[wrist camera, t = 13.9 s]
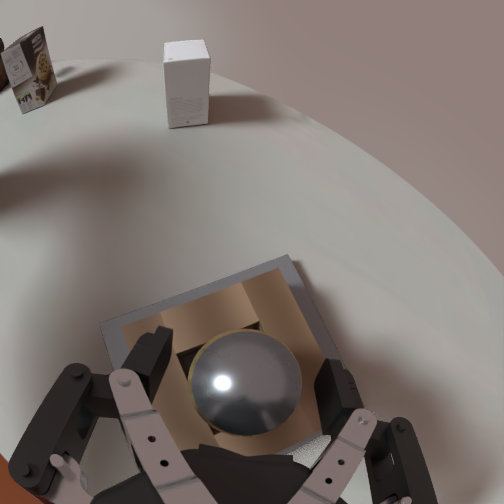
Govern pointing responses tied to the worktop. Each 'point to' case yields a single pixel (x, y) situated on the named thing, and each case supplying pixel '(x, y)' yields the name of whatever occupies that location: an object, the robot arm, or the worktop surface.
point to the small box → (186, 82)
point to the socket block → (219, 321)
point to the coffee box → (30, 70)
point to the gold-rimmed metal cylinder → (244, 382)
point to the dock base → (113, 326)
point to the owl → (2, 69)
